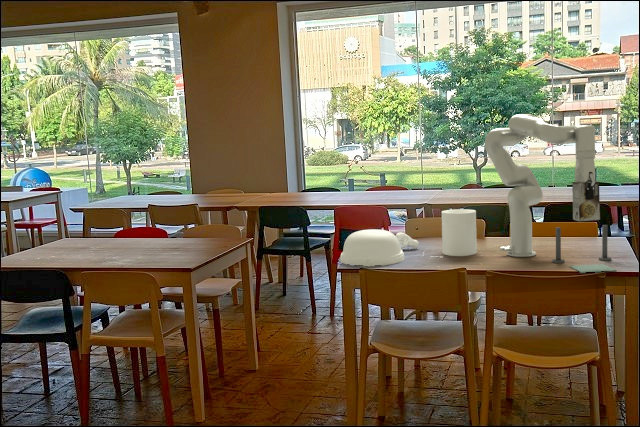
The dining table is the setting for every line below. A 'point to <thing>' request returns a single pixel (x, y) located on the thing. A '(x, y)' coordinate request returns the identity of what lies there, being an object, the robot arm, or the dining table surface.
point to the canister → (459, 232)
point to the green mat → (592, 268)
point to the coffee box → (585, 202)
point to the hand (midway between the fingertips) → (585, 197)
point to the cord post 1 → (558, 247)
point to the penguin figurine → (406, 241)
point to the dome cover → (371, 248)
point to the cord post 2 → (604, 245)
